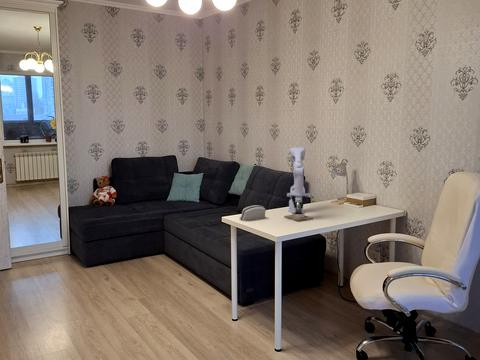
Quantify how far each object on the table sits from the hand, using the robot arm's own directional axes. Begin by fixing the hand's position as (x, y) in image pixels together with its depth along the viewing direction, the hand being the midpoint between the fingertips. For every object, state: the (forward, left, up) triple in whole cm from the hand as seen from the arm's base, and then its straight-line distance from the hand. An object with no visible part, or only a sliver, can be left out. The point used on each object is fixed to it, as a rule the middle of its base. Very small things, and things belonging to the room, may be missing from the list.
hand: (298, 207), depth 270 cm
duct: (0, 0, -7) cm, 7 cm away
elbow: (+1, -1, -5) cm, 5 cm away
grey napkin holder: (-15, -25, -7) cm, 30 cm away
